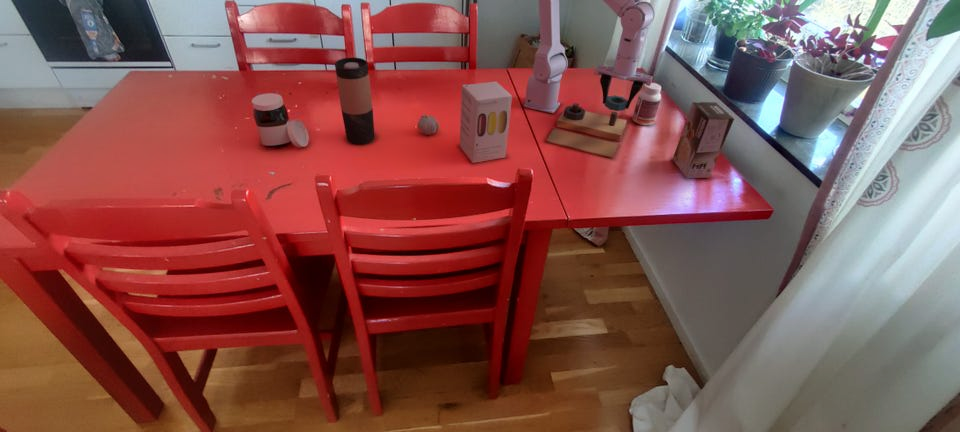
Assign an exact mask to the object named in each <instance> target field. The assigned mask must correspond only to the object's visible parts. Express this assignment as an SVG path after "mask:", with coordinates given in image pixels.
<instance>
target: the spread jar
mask: <svg viewBox="0 0 960 432" xmlns="http://www.w3.org/2000/svg"><path fill="white" fill-rule="evenodd" d="M251 103H252V107H253V118H254V121H255V125H256V128H257V133H258V135H259V140H260V142H261V144H262V146H263V147H264V148H266V149H270V150H271V149H272V150H277V149H278V150H279V149H283V148H286V147H288V146H290V145H291V144H292V145H293V146H295V147H296V148H299V149H300V148H305V147H307V146H308V145H309V143H310V142H309V141H310V138H309V132H308V129H307V127H306V125H305V124H304V123H303V121H301V120H300V119H293V120H290V117H289V113H288V109H287V107H286V106H285V104H284V98H283V97H282V95H281V94H279V93H270V92H269V93H262V94H258V95H256V96H254V97H253V98H252V99H251Z"/></svg>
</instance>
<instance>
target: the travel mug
mask: <svg viewBox="0 0 960 432" xmlns="http://www.w3.org/2000/svg"><path fill="white" fill-rule="evenodd" d="M334 68H335V75H336V83H337V91H338V96H339V97H338V98H339V103H340V110H341V115H342V121H343V125H344V131H345V136H346V141H347V142H348V143H349V144H351V145H356V146H363V145H368V144H369V143H372V142H373V141H374V140H375V123H374V122H375V121H374V109H373V100H372V92H371V82H370V74H369V73H370V72H369V66H368V62H367V60H366V59H364V58H361V57H345V58H341V59H338V60H336V61H335V62H334Z"/></svg>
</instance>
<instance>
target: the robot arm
mask: <svg viewBox="0 0 960 432" xmlns="http://www.w3.org/2000/svg"><path fill="white" fill-rule="evenodd" d="M602 1H603V2H604V3H605V4H606V5H607V6H608V8H610V9H611V11H613V12H614V14H615V15H616V16H617V17H618V18H620V26H621V27H622V31H621V34H620V38H619V43H618V47H617V52H616V56H615V59H614V60H615V61H614V64H613V66H605V65H599V64H598V65H596V66H595V69H594V74H593V75H594V76H600V78H599V83H600V86H601V90H602V104H604V105H605V102H606V99H607V97H608V96H609V92H610V87H611V84H612V79H613V78H614V79H617V80H621V81H629V82H632V84H631V87H630V90H629V91H630V92H629V95H628V99H627V100H628V102H627V104H626V109H625V110H628V109H630V108H629V107H630V105H631V103H632V102H633V100H634V98H635V97H636V95H637V94H639V93H640V92H641V90H642V89H643V87H644V84H646V85H648V86H650V84H651V83H652V81H653V77H654V76H653V75H649V74H646V73H643V72H639V71H637V69H638V66H639V61H640V57H641V54H642V50H643V47H644V42H645V39H646V35H647V31H648V27H649V26H650V25H651V24H652V22H653V21H654V19H655V9H654V7H653V6H652V4H651V2H648V1H642V0H602ZM538 15H539V41H540V42H539V43H540V44H539V47H538V49H537V50H536V51H535V54H534V62H533V65H532V73H533V74H530V76H529V78H528V80H527V85H526V89H525V100H524V104H523V107H524V108H527V109H532V110H537V111H540V112H544V113H549V114H554V113H555V112H556V111H557V109H558V108H559V107H560V106H561V102H560V101H558V99H559V95H560V87H561V81H562V78H563V74H564V73H565V72H566V71H567V69H568V67H569V66H568V65H569V61H568V58H567V56H566V48H565V46H563V44H561V32H560V31H561V27H560V26H561V25H560V23H561V21H560V20H561V19H560V18H561V17H560V0H538Z"/></svg>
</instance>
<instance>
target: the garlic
mask: <svg viewBox="0 0 960 432" xmlns="http://www.w3.org/2000/svg"><path fill="white" fill-rule="evenodd" d="M417 129H418V130H419V131H420V133H421V134H423V135H427V136H430V135H433V134H436V133H438V131H439V129H440V124H439V121H438V120H437V118H435V117H434V116H431V115H428V114H423V115H420V117H419V119H418V122H417Z"/></svg>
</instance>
